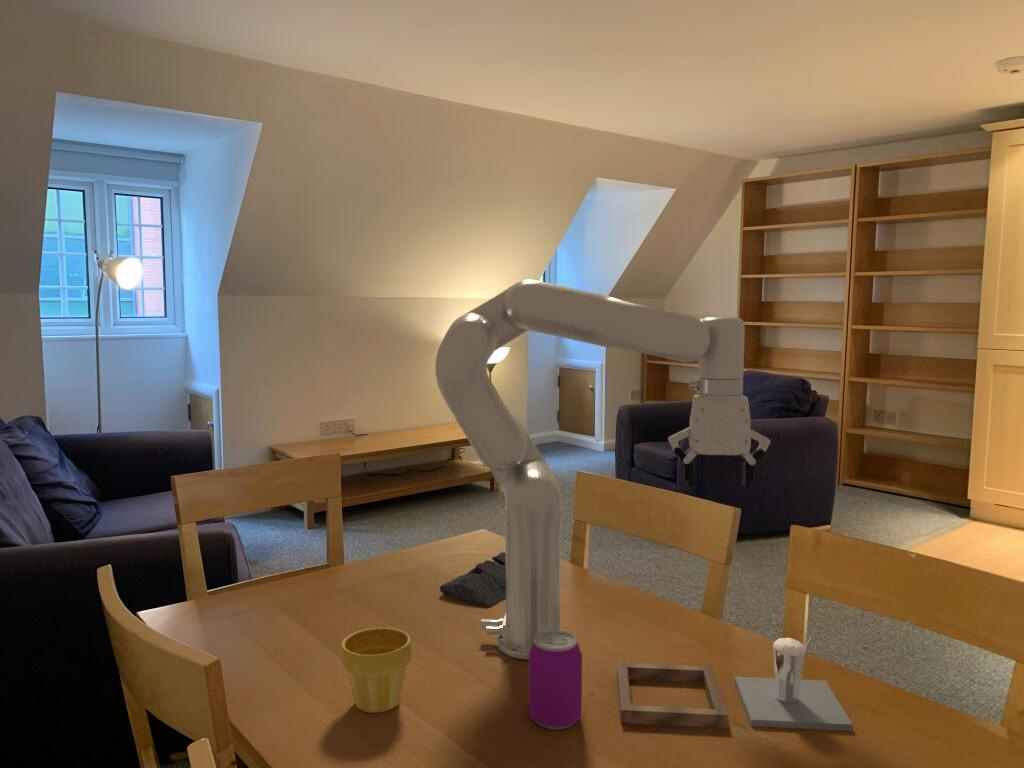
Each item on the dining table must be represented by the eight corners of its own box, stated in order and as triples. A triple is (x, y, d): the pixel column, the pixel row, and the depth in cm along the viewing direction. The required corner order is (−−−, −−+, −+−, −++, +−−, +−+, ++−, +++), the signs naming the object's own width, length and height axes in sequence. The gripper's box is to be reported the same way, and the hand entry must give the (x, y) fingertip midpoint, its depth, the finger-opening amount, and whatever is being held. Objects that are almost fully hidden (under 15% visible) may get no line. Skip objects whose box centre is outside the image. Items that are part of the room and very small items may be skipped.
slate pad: (750, 726, 113) (751, 719, 113) (734, 682, 126) (734, 676, 126) (852, 731, 112) (852, 724, 112) (825, 686, 125) (825, 680, 125)
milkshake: (811, 708, 116) (814, 642, 115) (773, 704, 117) (775, 639, 116) (806, 693, 121) (808, 630, 120) (769, 689, 122) (771, 627, 121)
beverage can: (527, 731, 112) (528, 650, 110) (529, 704, 119) (529, 627, 118) (582, 733, 111) (583, 651, 110) (580, 705, 119) (581, 628, 118)
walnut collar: (620, 723, 114) (621, 709, 114) (617, 674, 129) (617, 662, 129) (727, 728, 113) (727, 715, 112) (711, 678, 127) (711, 666, 127)
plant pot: (348, 686, 125) (346, 626, 124) (414, 684, 125) (413, 625, 124) (337, 721, 115) (335, 656, 113) (409, 719, 115) (408, 654, 114)
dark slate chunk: (427, 597, 163) (427, 574, 163) (487, 567, 182) (487, 546, 181) (488, 613, 155) (488, 589, 155) (545, 579, 174) (545, 558, 173)
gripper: (671, 390, 134) (669, 489, 136) (776, 391, 132) (773, 491, 134) (667, 385, 141) (665, 479, 143) (766, 386, 139) (763, 481, 141)
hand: (717, 485), depth 138 cm, fingers open, 9 cm apart
